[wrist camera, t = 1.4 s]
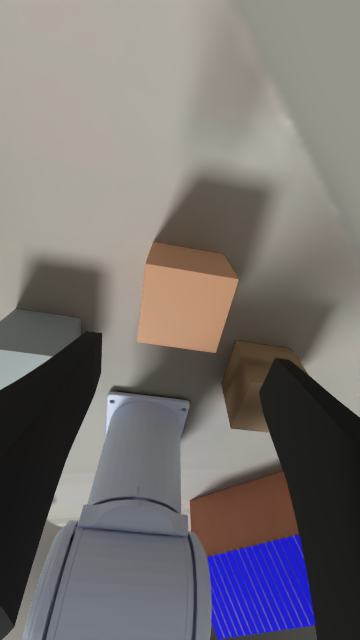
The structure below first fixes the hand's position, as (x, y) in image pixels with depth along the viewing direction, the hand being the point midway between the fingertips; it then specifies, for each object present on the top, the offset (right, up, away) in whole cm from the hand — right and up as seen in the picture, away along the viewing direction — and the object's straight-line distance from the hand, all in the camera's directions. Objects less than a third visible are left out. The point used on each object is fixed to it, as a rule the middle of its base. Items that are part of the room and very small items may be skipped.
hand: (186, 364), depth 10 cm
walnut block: (+7, -2, +13) cm, 14 cm away
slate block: (-11, 0, +11) cm, 15 cm away
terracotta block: (0, +5, +8) cm, 10 cm away
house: (+12, -23, +25) cm, 36 cm away
